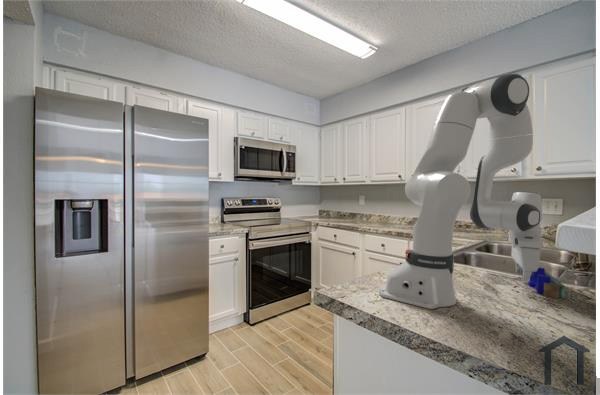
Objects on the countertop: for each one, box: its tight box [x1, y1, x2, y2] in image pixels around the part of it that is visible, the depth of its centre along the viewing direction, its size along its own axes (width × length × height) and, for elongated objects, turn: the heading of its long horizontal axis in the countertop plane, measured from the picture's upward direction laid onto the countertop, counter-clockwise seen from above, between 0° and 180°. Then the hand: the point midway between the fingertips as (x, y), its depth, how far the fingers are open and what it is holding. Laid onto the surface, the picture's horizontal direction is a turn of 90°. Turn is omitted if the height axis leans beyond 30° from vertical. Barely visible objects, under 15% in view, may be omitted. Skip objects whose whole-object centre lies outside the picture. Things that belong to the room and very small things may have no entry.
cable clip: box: [527, 267, 550, 295], centre depth 98 cm, size 12×4×6 cm, turn 147°
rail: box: [531, 270, 566, 300], centre depth 97 cm, size 5×18×4 cm, turn 154°
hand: (522, 277), depth 100 cm, fingers open, 8 cm apart
